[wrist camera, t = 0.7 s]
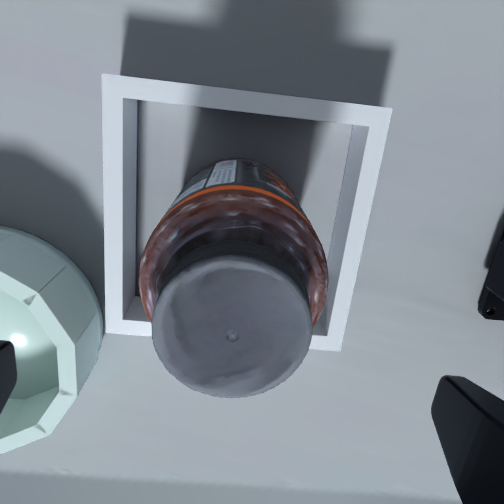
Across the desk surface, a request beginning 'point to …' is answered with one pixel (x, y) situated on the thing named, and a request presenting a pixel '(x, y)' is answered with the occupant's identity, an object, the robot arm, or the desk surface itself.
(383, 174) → the desk surface
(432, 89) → the desk surface
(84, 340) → the bowl
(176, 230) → the supplement bottle
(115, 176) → the tray
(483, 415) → the robot arm
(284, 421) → the desk surface
